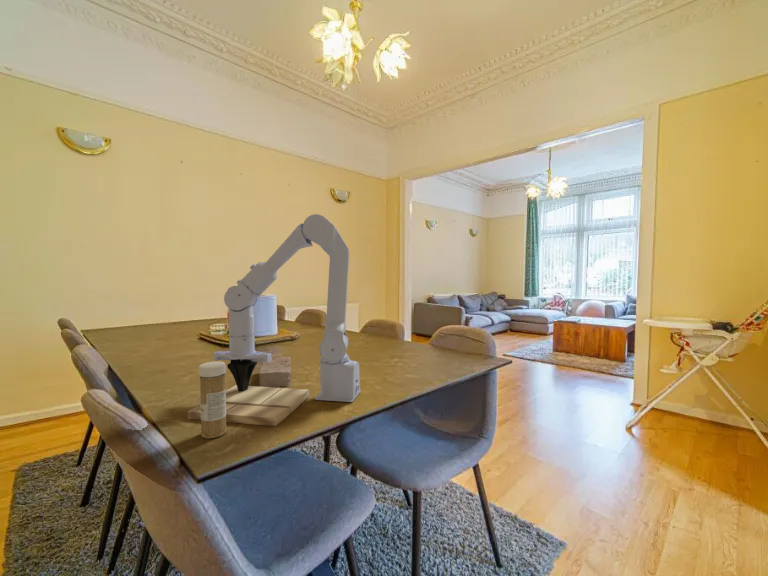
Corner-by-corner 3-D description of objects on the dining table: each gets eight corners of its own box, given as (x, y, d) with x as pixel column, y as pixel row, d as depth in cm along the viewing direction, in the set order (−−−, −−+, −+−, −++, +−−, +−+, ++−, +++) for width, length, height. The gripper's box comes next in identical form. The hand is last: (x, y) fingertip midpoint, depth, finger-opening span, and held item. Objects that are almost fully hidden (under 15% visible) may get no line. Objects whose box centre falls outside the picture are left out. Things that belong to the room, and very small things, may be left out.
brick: (291, 387, 93) (291, 369, 93) (258, 390, 91) (258, 372, 91) (291, 371, 109) (290, 356, 109) (263, 373, 107) (262, 358, 107)
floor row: (289, 414, 74) (289, 406, 74) (275, 426, 68) (275, 417, 68) (207, 407, 78) (207, 400, 78) (188, 418, 72) (187, 410, 72)
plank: (309, 396, 85) (309, 389, 84) (290, 413, 75) (290, 405, 75) (236, 391, 88) (235, 384, 88) (209, 407, 79) (208, 399, 78)
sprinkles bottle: (200, 431, 66) (198, 362, 66) (226, 426, 68) (224, 359, 68) (200, 441, 62) (198, 368, 62) (228, 436, 64) (226, 364, 64)
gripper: (204, 337, 82) (205, 393, 82) (260, 339, 79) (261, 397, 79) (223, 332, 88) (224, 384, 89) (275, 333, 86) (276, 387, 86)
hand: (243, 390), depth 85 cm, fingers closed, pressing on plank
